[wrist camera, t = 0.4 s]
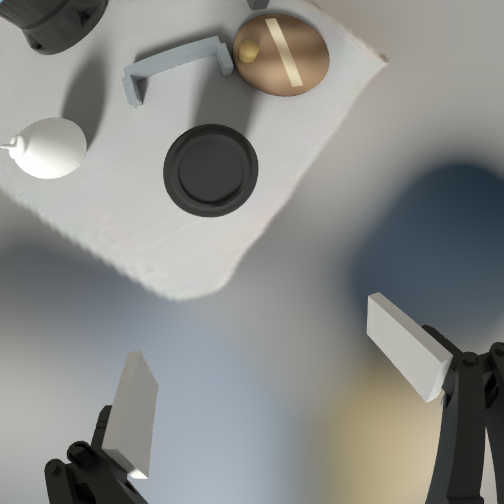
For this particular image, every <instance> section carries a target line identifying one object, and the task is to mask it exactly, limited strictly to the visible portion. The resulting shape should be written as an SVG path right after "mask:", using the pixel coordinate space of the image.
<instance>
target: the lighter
mask: <svg viewBox="0 0 504 504" xmlns="http://www.w3.org/2000/svg"><path fill="white" fill-rule="evenodd" d="M247 2H248V4H249V6H250V8H251V10H257V9H264V8H266V7H267V5H268V3H269V0H247Z"/></svg>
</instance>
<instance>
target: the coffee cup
mask: <svg viewBox="0 0 504 504" xmlns="http://www.w3.org/2000/svg"><path fill="white" fill-rule="evenodd" d="M163 177H164V184H165V188H166V190H167V193H168V194H169V196H170V198H171V199H172V201H173V202H174V203H175V204H176V205H177V206H178V207H180V208H181V209H182V210H184V211H186V212H188V213H190V214H193V215H196V216H201V217H219V216H223V215H226V214H229V213H231V212H233V211H235V210H236V209H238V208H239V207H240V206H242V205H243V204H244V203H245V202H246V201H247V199H248V198H249V197H250V195H251V194H252V192H253V190H254V188H255V185H256V182H257V177H258V160H257V156H256V153H255V150H254V148H253V147H252V145H251V144H250V142H249V141H248V140H247V139H246V138H245V137H244V136H243V135H242V134H240V133H239V132H237V131H236V130H234V129H232V128H229V127H227V126H223V125H218V124H206V125H200V126H197V127H194V128H192V129H190V130H188V131H186V132H184V133H183V134H182V135H181V136H179V137H178V138H177V139H176V140H175V142H174V143H173V144H172V145H171V147H170V149H169V151H168V153H167V155H166V158H165V161H164V168H163Z"/></svg>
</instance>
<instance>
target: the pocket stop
mask: <svg viewBox="0 0 504 504" xmlns="http://www.w3.org/2000/svg"><path fill="white" fill-rule="evenodd" d="M211 55H216V58H217V60H218V63H219V66H220V68H221V71H222V74H223V76H227V75H230V74H232V70H233V67H234V65H233V63H232V60H231V57H230V55H229V52H228V50H227V47H226V44H225V43H222V44H220V41H219V38H218V36H214V37H210V38H206V39H202V40H199V41H195V42H192V43H188V44H185V45H182V46H179V47H176V48H173V49H170V50H167V51H164V52H162V53H159V54H156V55H153V56H151V57H148V58H146V59H143V60H141V61H138V62H136V63H134V64H131V65H129V66H127V67H125V68H124V72H125V75H126V77H124V78H122V81H123V85H124V88H125V92H126V95H127V99H128V102H129V103H130V104H131V105H132V106H133V107H135V108H136V107H138V106H140V105H143V104H142V100H141V97H140V94H139V90H138V87H137V83H136V82H137V81H139V80H141V79H144V78H146V77H149V76H151V75H154V74H156V73H159V72H162V71H164V70H167V69H170V68H173V67H175V66H178V65H181V64H184V63H187V62H191V61H194V60H197V59H200V58H204V57H207V56H211Z"/></svg>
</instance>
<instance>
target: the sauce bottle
mask: <svg viewBox="0 0 504 504" xmlns="http://www.w3.org/2000/svg"><path fill="white" fill-rule="evenodd" d="M0 147H2V148H8V149H9V154H10V156H11V157H12V158H13V159H15V161H16V163H17V164H18V165H19V167H20V168H21V169H23V170H24V171H25V172H27V173H28V174H30V175H32V176H35V177H38V178H45V179H50V178H58V177H61V176H64V175H67V174H69V173H71V172H72V171H73V170H75V169H76V168H77V167H78V166H79V165H80V164H81V163H82V161H83V160H84V157H85V155H86V148H87V145H86V139H85V135H84V133H83V131H82V130H81V128H80V127H79V126H78V125H77V124H75V123H74V122H72V121H70V120H67V119H64V118H48V119H44V120H40V121H38V122H35V123H33V124H31V125H29V126H28V127H26V128H25V129H24V130H22V131H21V132H20V133H19V134H18V135H16V136H14V137H13V138H12V140H11V141H10V144H5V145H1V146H0Z"/></svg>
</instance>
